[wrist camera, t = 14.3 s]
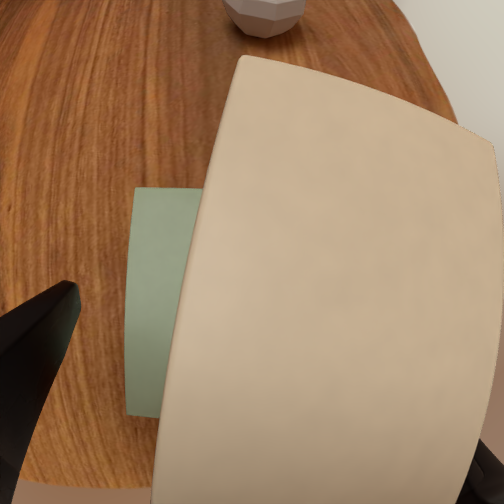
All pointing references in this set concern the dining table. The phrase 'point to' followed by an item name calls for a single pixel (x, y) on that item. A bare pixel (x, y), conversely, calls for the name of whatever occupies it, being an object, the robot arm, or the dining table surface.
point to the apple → (264, 15)
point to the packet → (333, 301)
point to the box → (154, 289)
